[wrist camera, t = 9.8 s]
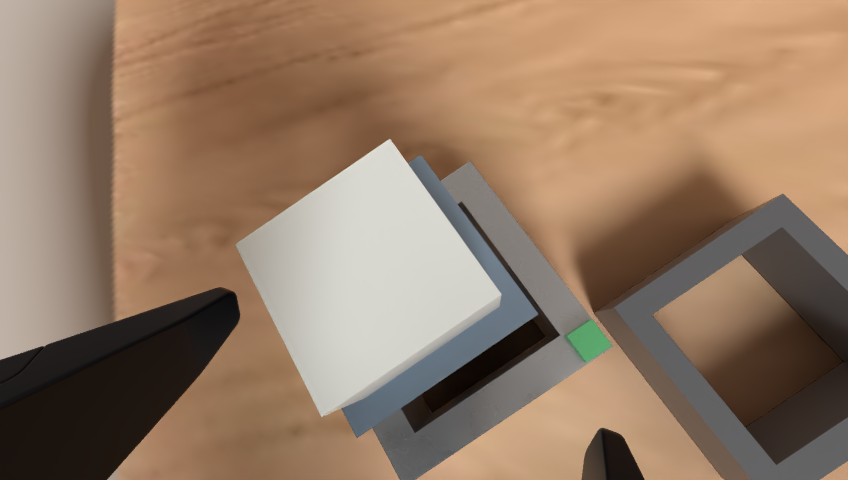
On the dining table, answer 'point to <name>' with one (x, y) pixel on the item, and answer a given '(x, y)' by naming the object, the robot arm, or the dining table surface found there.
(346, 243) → the plug
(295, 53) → the dining table surface
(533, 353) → the socket block
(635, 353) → the frame
